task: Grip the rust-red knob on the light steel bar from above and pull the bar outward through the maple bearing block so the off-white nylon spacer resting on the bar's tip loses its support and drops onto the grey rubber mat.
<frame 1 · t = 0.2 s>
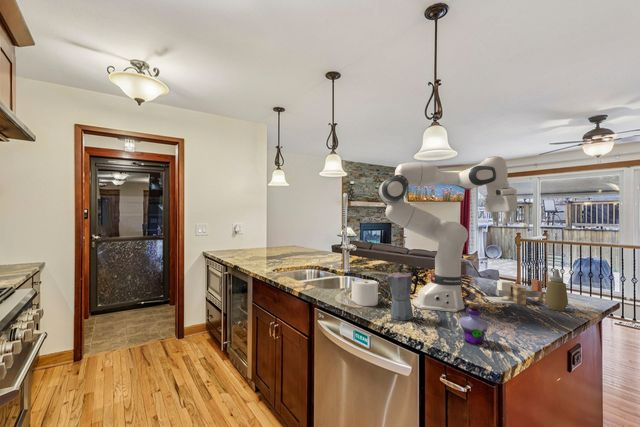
hand: (501, 221, 136), 39 cm above the worktop, tool pointing down, fingers open, 8 cm apart
squeeze bottle: (556, 309, 134), on the worktop
spacer: (503, 289, 147), point 5 cm above the worktop, touching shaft
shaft: (518, 287, 147), point 7 cm above the worktop, slide at 0.0 cm, touching spacer
toilet tissue: (364, 303, 141), on the worktop
moka pot: (402, 317, 122), on the worktop
mat: (499, 300, 147), on the worktop
rear saddle: (544, 301, 146), on the worktop
bearing block: (514, 300, 147), on the worktop
potion bottle: (473, 342, 98), on the worktop
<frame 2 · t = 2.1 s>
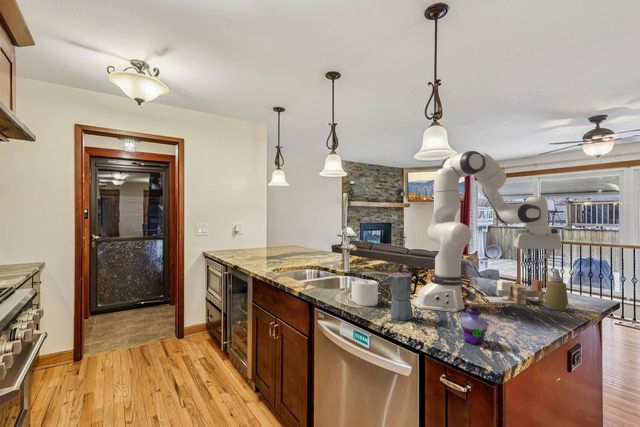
hand: (537, 258, 146), 21 cm above the worktop, tool pointing down, fingers open, 8 cm apart
nothing on the worktop moved.
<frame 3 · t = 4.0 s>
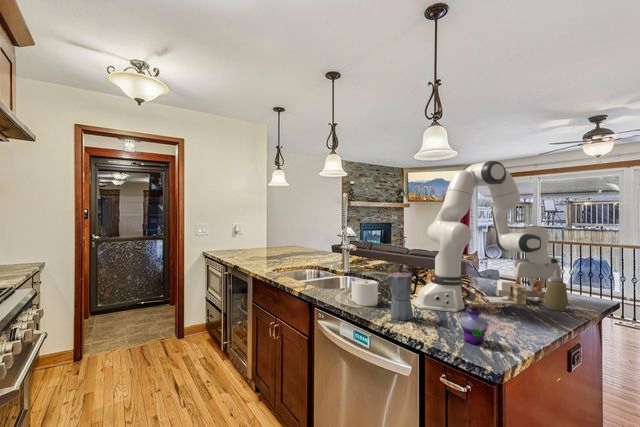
hand: (536, 287, 146), 7 cm above the worktop, tool pointing down, fingers closed on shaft, 2 cm apart
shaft: (518, 287, 147), point 7 cm above the worktop, slide at 0.0 cm, touching gripper, spacer
everything else where it was.
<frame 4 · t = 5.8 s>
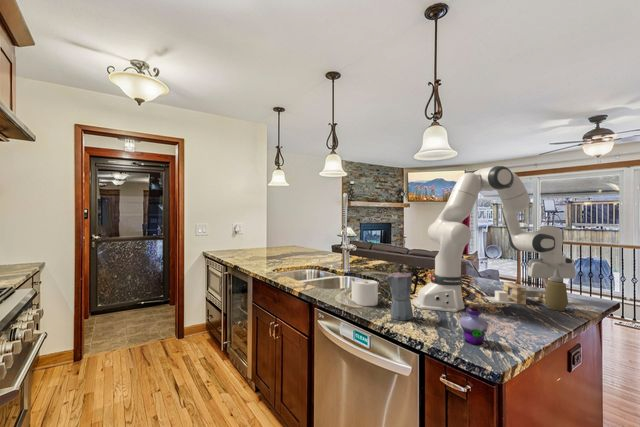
hand: (550, 287, 146), 7 cm above the worktop, tool pointing down, fingers closed on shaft, 2 cm apart
spacer: (505, 296, 147), point 2 cm above the worktop, tilted 90°, touching mat
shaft: (532, 288, 146), point 6 cm above the worktop, slide at 6.6 cm, touching gripper
everything else where it was.
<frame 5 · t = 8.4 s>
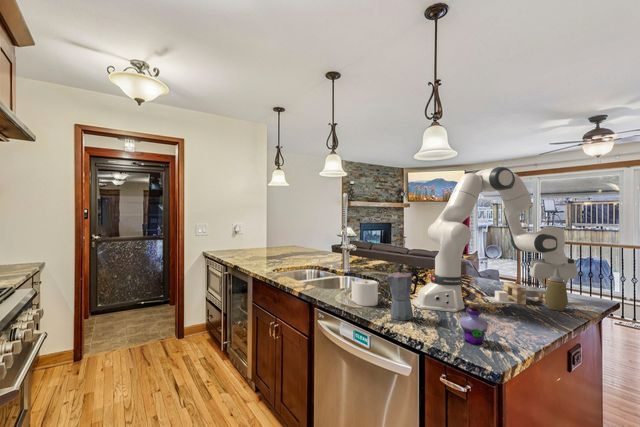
hand: (553, 287, 145), 7 cm above the worktop, tool pointing down, fingers open, 8 cm apart
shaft: (534, 288, 146), point 7 cm above the worktop, slide at 7.6 cm
everything else where it was.
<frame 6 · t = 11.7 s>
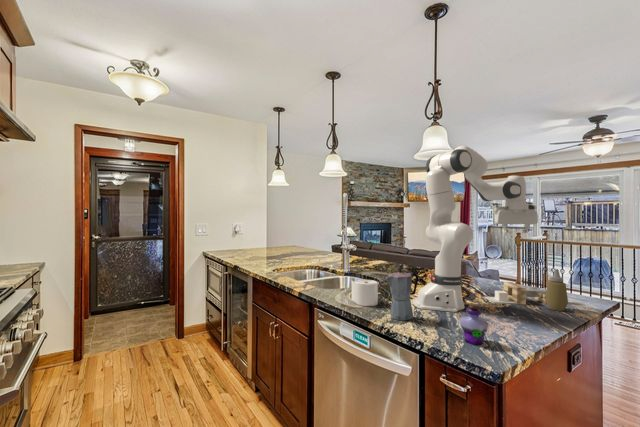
hand: (515, 232, 157), 33 cm above the worktop, tool pointing down, fingers open, 8 cm apart
nothing on the worktop moved.
at the end: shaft slide at 7.6 cm; spacer inside the target area (1.7 cm from its centre), point 2.4 cm above the worktop; the gripper is holding nothing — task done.
